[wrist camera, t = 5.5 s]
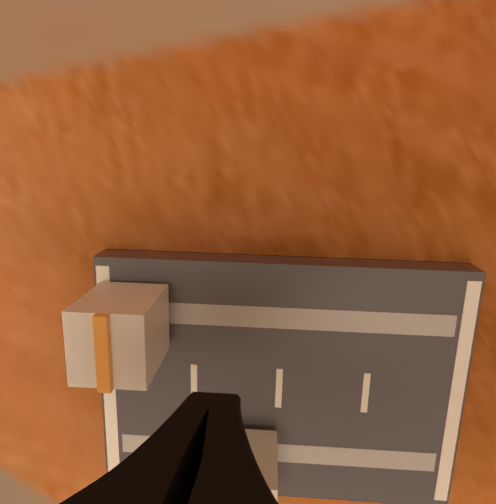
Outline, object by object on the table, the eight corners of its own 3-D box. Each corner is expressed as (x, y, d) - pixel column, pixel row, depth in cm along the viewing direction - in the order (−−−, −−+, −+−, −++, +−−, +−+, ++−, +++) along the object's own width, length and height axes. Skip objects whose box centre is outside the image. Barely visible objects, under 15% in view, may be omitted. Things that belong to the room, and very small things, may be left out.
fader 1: (168, 284, 19) (141, 318, 15) (169, 347, 19) (144, 395, 16) (101, 281, 19) (57, 314, 15) (104, 343, 20) (63, 391, 16)
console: (469, 263, 20) (485, 272, 18) (436, 484, 22) (447, 507, 21) (106, 249, 20) (92, 256, 19) (117, 463, 23) (107, 484, 22)
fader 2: (277, 430, 20) (277, 496, 16) (274, 484, 21) (274, 559, 17) (213, 426, 20) (199, 491, 16) (213, 480, 21) (199, 553, 17)
